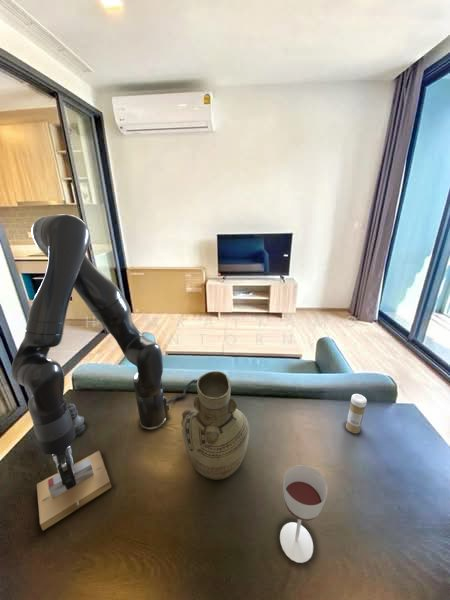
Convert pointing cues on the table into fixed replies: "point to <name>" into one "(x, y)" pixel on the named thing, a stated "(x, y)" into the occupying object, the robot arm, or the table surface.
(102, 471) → the base
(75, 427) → the grey stone statuette
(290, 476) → the wineglass
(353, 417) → the sprinkles bottle
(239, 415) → the ceramic vessel
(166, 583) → the table surface
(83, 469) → the white rectangular block
